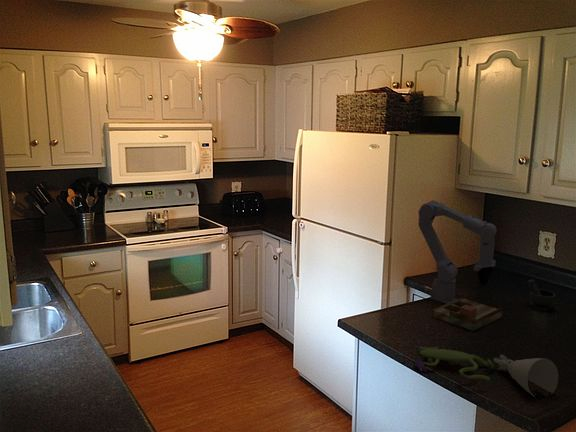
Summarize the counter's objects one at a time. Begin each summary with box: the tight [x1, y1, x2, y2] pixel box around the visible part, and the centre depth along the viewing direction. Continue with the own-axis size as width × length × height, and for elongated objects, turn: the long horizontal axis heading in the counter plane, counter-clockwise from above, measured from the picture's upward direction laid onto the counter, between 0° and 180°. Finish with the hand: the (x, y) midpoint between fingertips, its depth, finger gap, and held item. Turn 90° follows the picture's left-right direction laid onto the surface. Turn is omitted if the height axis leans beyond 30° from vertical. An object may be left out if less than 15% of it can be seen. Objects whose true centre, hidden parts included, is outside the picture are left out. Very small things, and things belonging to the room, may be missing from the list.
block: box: [459, 305, 477, 319], centre depth 199 cm, size 4×4×4 cm
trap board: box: [431, 297, 504, 332], centre depth 208 cm, size 18×22×5 cm
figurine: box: [414, 345, 495, 382], centre depth 166 cm, size 18×27×6 cm
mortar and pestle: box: [527, 278, 557, 312], centre depth 219 cm, size 11×9×12 cm
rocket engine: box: [492, 354, 559, 398], centre depth 159 cm, size 12×12×18 cm
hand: (483, 284), depth 217 cm, fingers closed
